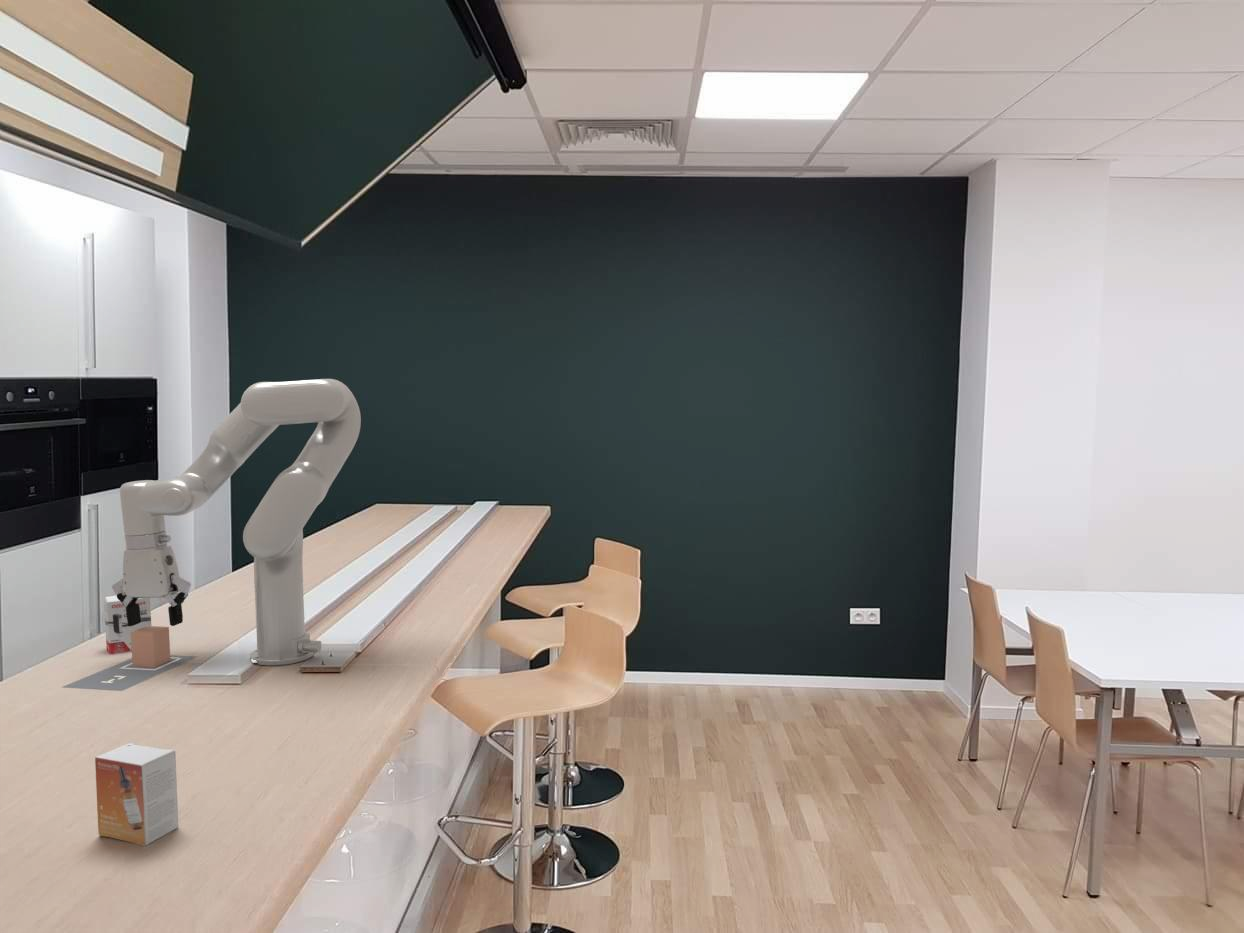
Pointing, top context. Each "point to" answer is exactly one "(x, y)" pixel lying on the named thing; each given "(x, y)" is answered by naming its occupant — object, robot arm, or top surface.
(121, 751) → the small box
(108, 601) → the ink box
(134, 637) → the block
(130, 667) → the mat
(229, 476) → the robot arm
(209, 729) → the top surface
